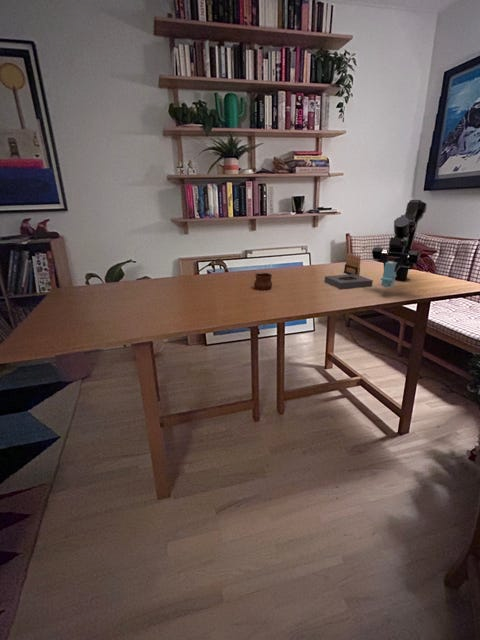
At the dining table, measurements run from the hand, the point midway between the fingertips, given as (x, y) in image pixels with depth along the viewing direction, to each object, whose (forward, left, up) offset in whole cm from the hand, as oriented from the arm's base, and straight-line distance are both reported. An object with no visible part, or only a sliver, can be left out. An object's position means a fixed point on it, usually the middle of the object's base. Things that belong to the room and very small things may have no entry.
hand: (389, 270), depth 138 cm
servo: (-1, 0, -7) cm, 7 cm away
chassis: (-2, -21, -11) cm, 24 cm away
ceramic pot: (+37, -41, -12) cm, 56 cm away
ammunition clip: (-21, -32, -11) cm, 40 cm away
